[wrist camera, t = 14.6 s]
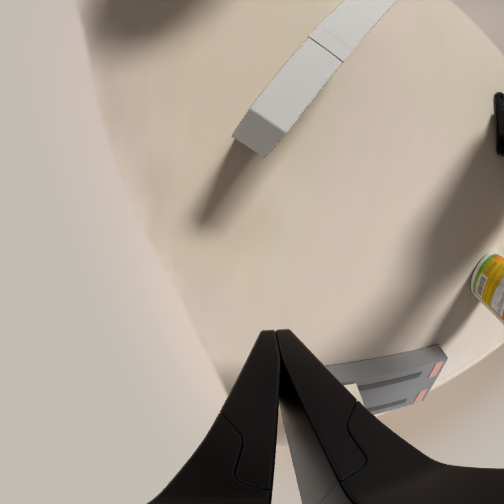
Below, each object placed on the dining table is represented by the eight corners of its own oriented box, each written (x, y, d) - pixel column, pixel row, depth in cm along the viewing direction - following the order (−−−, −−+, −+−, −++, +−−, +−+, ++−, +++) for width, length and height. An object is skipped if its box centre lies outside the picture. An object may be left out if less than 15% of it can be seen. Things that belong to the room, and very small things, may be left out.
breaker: (356, 383, 23) (366, 412, 19) (349, 399, 24) (358, 427, 20) (336, 386, 23) (345, 416, 19) (331, 402, 24) (338, 431, 20)
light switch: (235, 136, 17) (229, 135, 10) (335, 15, 13) (381, -35, 6) (257, 151, 17) (267, 161, 10) (355, 29, 13) (409, -12, 6)
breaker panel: (438, 344, 25) (448, 358, 23) (416, 387, 28) (423, 400, 26) (300, 368, 25) (304, 388, 23) (294, 410, 28) (296, 428, 26)
